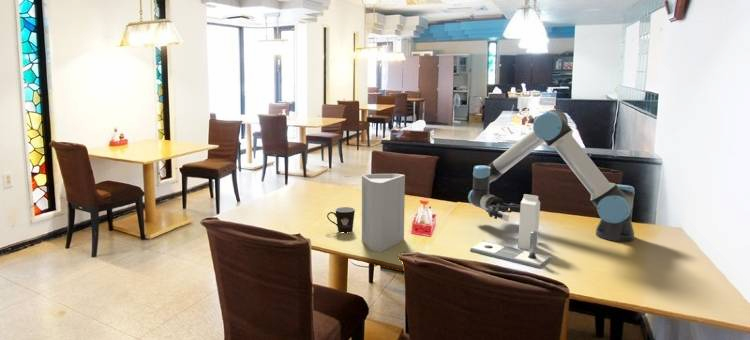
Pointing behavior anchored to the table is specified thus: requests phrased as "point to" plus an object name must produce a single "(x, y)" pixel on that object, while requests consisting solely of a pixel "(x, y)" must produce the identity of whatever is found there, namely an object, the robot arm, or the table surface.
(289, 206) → the table surface
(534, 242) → the steel pin
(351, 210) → the coffee mug
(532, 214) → the milk
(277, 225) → the table surface
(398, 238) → the tall triangular prism
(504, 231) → the table surface
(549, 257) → the plate
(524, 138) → the robot arm
